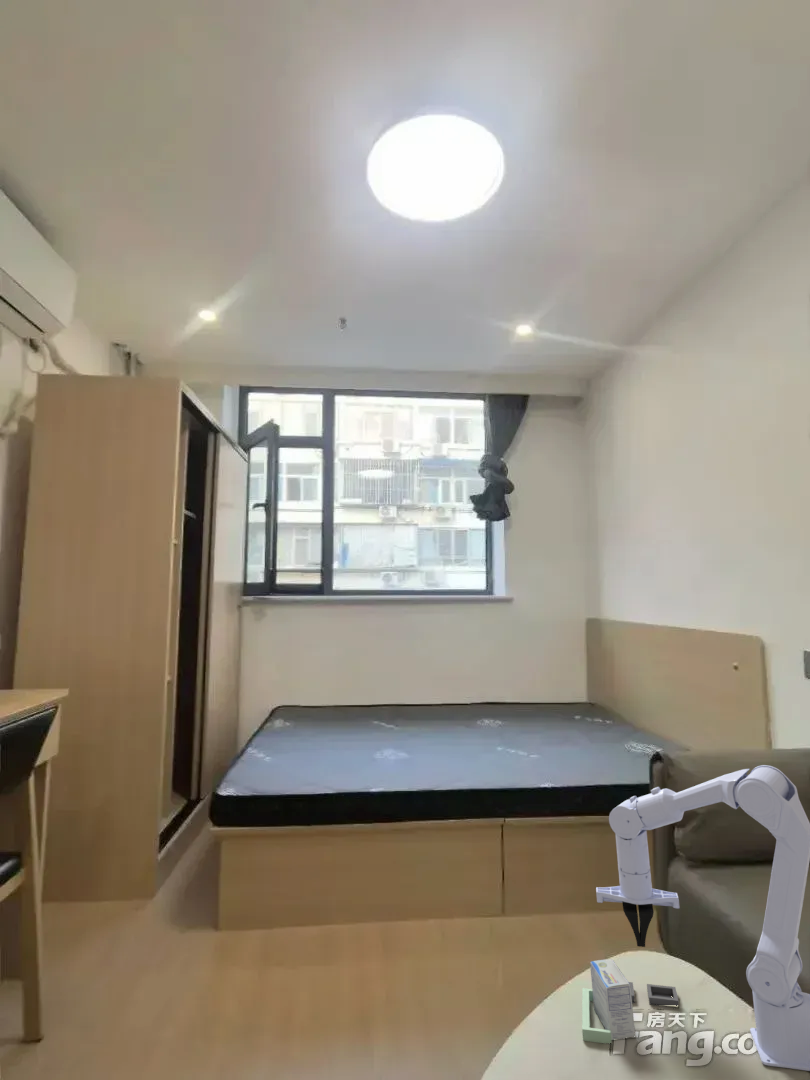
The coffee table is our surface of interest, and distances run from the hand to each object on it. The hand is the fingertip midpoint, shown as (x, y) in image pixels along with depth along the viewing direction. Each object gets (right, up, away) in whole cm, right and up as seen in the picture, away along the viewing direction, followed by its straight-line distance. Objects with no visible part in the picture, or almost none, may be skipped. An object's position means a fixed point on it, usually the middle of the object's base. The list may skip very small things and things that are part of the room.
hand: (640, 943), depth 115 cm
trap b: (-4, -10, 0) cm, 10 cm away
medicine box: (-7, -10, -7) cm, 14 cm away
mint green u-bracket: (-10, -9, -6) cm, 15 cm away
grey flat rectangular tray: (+3, -9, -2) cm, 10 cm away
